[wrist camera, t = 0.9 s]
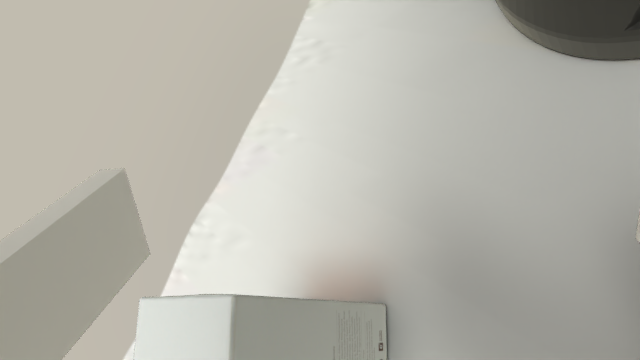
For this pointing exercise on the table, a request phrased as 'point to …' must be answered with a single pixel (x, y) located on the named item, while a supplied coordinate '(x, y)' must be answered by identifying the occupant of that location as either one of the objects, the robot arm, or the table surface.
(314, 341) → the skincare box
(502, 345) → the table surface
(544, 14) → the robot arm
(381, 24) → the table surface
